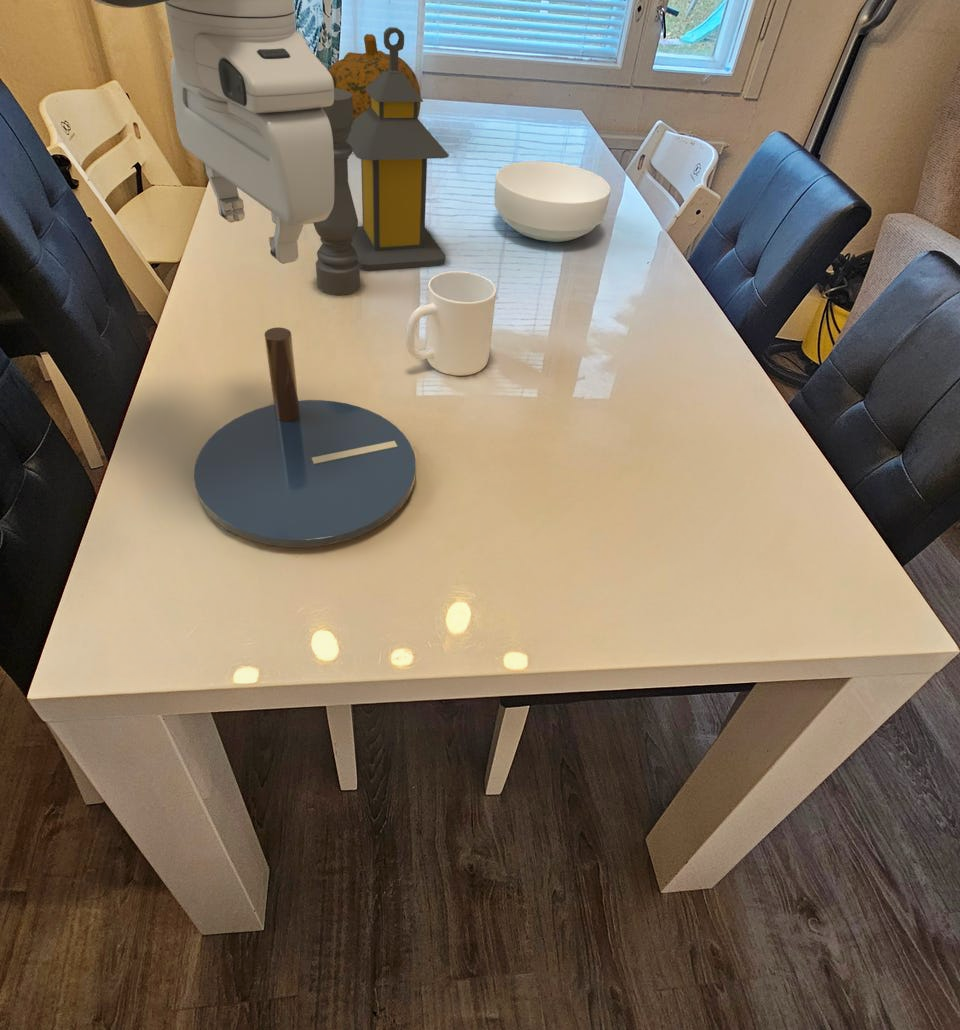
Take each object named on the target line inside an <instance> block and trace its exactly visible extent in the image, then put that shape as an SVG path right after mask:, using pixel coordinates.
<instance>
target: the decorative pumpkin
mask: <svg viewBox="0 0 960 1030" xmlns="http://www.w3.org/2000/svg"><path fill="white" fill-rule="evenodd" d="M363 41H364V50H365V53H359V52H353V51H352V52H351V51H349V52H347V53H346V54H345V55H344V57H343V58H342V59H339V60H337V61H335V62H334V63H333V64H332V65H331V66H330V67H329V68H328V69H327V70H328V71H329V72H330V74H331V76H332V78H333V83H334V88H338V89H343V90H346V91H348V92H350V93H351V94H352V96H353V120H355V119H356V118H357V117H358V116H360V115H361V114H362V113H363V112H365V111H366V110H367V109H368V108H370V107H371V96H370V95H369V93H368V92H367V91H366V90H365V88H366V87H367V86H368V85H369V84H370V83H371V82H373V81H374V80H375V79H376V78H377V77H378V76H379V75H380V74H381V73H382V72H383V71H384V70H386V69H390V53H385V52H383V51H382V50H378V44H377V39H376V36H375V35H374V34H373V33H366V34H365V35H364V36H363ZM398 70H400V71H401V72H402V73H403V75H404V76H405V77H406V79H407V80H408V81H409V83H410V84H411V85H412V87H413V88H414V89H415V91H416V92H417V93H418V95H419V96H420V97H421V88H420V84H419V80H418V78H417V76H416V74H415V72H414V71H413V70H412V67H411V66H409V64H408V63H407V62H406V61H405V60H404V59H402V58H401V57H399V56H398ZM421 98H422V97H421ZM421 103H422V102H417V118H418V119H419V117H420V112H421V111H420V110H421Z"/></svg>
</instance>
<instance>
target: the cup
mask: <svg viewBox="0 0 960 1030" xmlns="http://www.w3.org/2000/svg"><path fill="white" fill-rule="evenodd" d="M496 299H497V287H496V285H495V283H494V282H493V281H492V280H491V279H489V278H488V277H485V276H483V275H481V274H478V273H474V272H470V271H461V270H460V271H458V270H457V271H456V270H455V271H454V270H453V271H445V272H441V273H438V274H435V275H434V276H433V277H431V278H430V279H429V281H428V283H427V301H426V304H424V305H420V306H419V307H417V308H415V309H414V310H413V311H412V312H411V314H410V316H409V318H408V322H407V325H406V331H405V345H406V349H407V352H408V354H409V355H410V356H411V357H412V358H414V359H416V360H419V361H420V360H427V362H428V363H429V365H430V366H431V367H432V368H433V369H434V370H436V371H438V372H440V373H442V374H446V375H451V376H456V377H457V376H458V377H459V376H463V377H464V376H470V375H471V376H472V375H475V374H477V373H479V372H480V371H482V370H483V369H484V368H485V367H486V365H487V364H488V361H489V358H490V352H491V342H492V334H493V324H494V316H495V308H496ZM423 317H426V327H425V348H423V349H418V348H417V346H416V343H415V341H416V340H415V339H416V338H415V336H416V330H417V326H418V323H419V321H420V319H422V318H423Z"/></svg>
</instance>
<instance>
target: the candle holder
mask: <svg viewBox="0 0 960 1030" xmlns="http://www.w3.org/2000/svg"><path fill="white" fill-rule="evenodd" d="M322 109H323V110H324V111H325V113H326V115H327V117H328V119H329V122H330V125H331V130H332V136H333V149H334V205H333V209H332V211H331V213H330V215H329V217H328V218H327V219H326V220H324V221H320V222H315V223H312V224H313V227H314V229H315V232H316V234H317V235H318V236H319V237H320V238H319V239H320V242H321V245H320V247H318V249H317V252H316V256H317V260H316V262H315V272H316V284H317V288H318V290H320V291H321V292H322V293H325V294H328V295H333V296H348V295H351V294H354V293H356V292H357V291H359V289H360V287H361V271H360V270H361V269H360V265H359V262H358V260H356V258H357V256H358V255H357V252H356V250H355V249H354V248H353V246H352V245H351V242H352V241H353V240H352V237H353V236H354V234H355V232H356V230H357V227H359V219H358V214H357V210H356V208H355V204H354V200H353V196H352V192H351V191H352V190H351V188H350V184H349V167H348V166H349V164H348V163H349V162H348V160H349V157H350V156H351V155H352V154H353V151H352V147H351V145H350V144H349V143H347V139H348V136H349V133H350V132H351V126H352V124H353V96H352V94H351V93H350V92H348V91H346V90H343V89H338V88H334V102H333V105H332V106H328V107H322Z"/></svg>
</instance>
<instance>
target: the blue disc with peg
mask: <svg viewBox="0 0 960 1030" xmlns="http://www.w3.org/2000/svg"><path fill="white" fill-rule="evenodd" d="M263 335H264V343H265V350H266V355H267V356H266V358H267V364H268V370H269V371H268V372H269V378H270V386H271V394H272V400H273V401H272V402H273V404H270V405H265V406H262V407H260V408H256V409H254V410H250V411H249V412H246V413H244V414H242V415H240V416H238V417H236V418H233V419H232V420H231V421H228V423H226V424H224V425H223V426H222V427H221V428H219V429H218V430H217V431H215V432H214V433H213V435H211V437H209V438H208V439H207V441H205V444H204V445H203V446H202V448H201V450H200V452H199V453H198V456H197V458H196V461H195V465H194V471H193V472H194V473H193V478H194V480H193V481H194V486H195V490H196V493H197V497H198V499H199V501H200V504H201V505H202V507H203V509H204V510H205V511H206V513H207V514H208V515H209V516H210V517H211V518H212V519H213V521H215V522H216V523H217V524H219V525H220V526H221V527H222V528H224V529H226V530H227V531H230V532H231V533H233V534H235V535H237V536H239V537H241V538H244V539H245V540H249V541H253V542H256V543H259V544H264V545H270V546H274V547H284V548H285V547H286V548H311V547H312V548H313V547H321V546H322V547H323V546H327V545H333V544H338V543H342V542H344V541H345V542H346V541H348V540H349V541H350V540H352V539H354V538H357V537H360V536H362V535H365V534H367V533H369V532H371V531H373V530H374V529H377V528H378V527H380V526H382V525H383V524H384V523H385V522H387V521H388V520H390V519H391V518H392V517H393V516H394V515H395V514H397V513H398V511H400V509H401V508H402V507H403V506H404V504H405V503H406V502H407V501H408V498H409V497H410V495H411V493H412V491H413V488H414V485H415V481H416V473H417V471H416V470H417V465H416V463H417V462H416V456H415V453H414V448H413V446H412V445H411V443H410V441H409V439H408V438H407V436H406V435H405V433H404V432H402V431H401V429H399V427H397V426H396V425H395V424H393V422H391V421H390V420H389V419H387V418H385V417H383V416H382V415H380V414H378V413H376V412H374V411H372V410H369V409H368V408H364V407H360V406H358V405H354V404H350V403H346V402H340V401H335V400H324V399H323V400H322V399H303V400H301V399H300V400H299V394H298V392H299V391H298V384H297V383H298V382H297V375H296V365H295V357H294V356H295V355H294V347H293V346H294V345H293V337H292V332H291V331H290V329H288V328H285V327H279V326H278V327H277V326H276V327H271V328H268V329H267V330H266V331H265V332H264V334H263Z"/></svg>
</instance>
